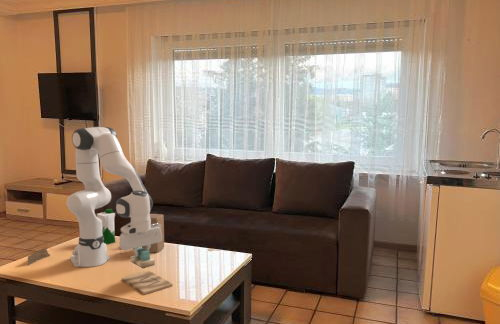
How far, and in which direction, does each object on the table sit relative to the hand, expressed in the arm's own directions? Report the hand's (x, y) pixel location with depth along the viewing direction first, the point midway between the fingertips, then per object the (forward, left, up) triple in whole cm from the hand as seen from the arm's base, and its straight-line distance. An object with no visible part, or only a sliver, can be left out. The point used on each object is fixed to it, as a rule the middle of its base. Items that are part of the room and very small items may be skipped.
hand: (142, 255), depth 193 cm
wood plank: (-61, -28, -13) cm, 68 cm away
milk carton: (-67, +12, -12) cm, 69 cm away
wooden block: (-36, +26, -12) cm, 46 cm away
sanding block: (0, 0, -4) cm, 4 cm away
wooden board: (+4, 0, -12) cm, 13 cm away
